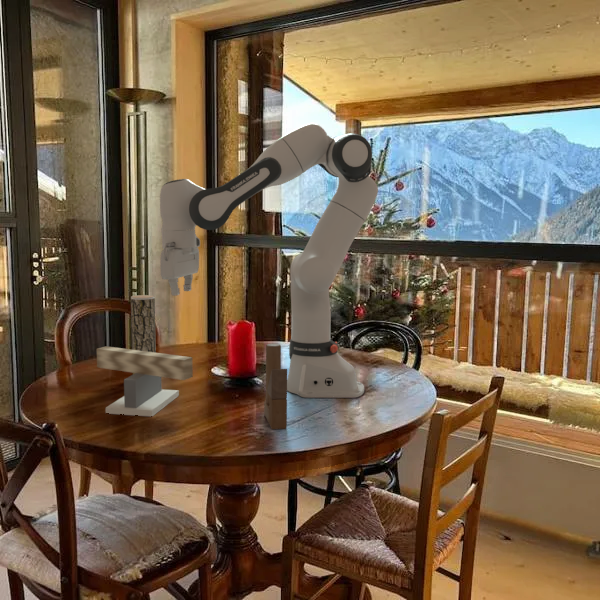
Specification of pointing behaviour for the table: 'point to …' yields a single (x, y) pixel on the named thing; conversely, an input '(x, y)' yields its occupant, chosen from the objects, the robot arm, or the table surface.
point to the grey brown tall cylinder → (143, 323)
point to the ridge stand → (142, 396)
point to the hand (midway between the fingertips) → (181, 293)
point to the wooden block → (275, 388)
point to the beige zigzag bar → (145, 362)
